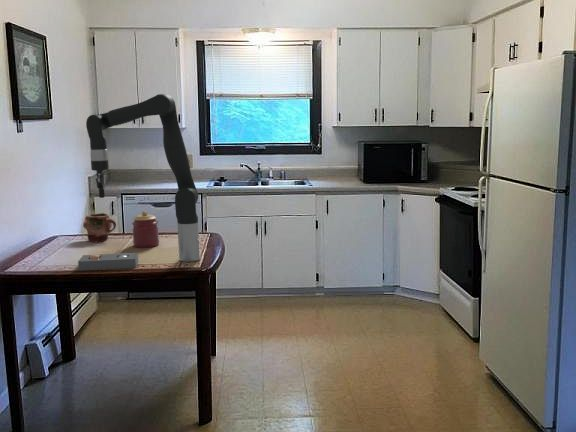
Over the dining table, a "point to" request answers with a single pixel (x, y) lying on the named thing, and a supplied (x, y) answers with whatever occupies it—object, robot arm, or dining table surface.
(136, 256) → the button panel
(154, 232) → the canister
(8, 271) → the dining table surface
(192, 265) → the dining table surface
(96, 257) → the terracotta button
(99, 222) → the brown ceramic mug
